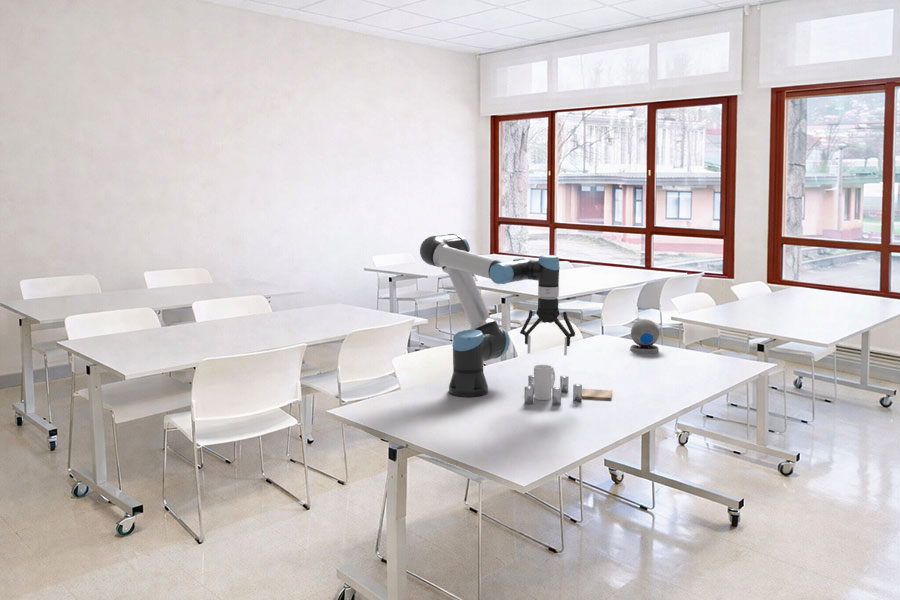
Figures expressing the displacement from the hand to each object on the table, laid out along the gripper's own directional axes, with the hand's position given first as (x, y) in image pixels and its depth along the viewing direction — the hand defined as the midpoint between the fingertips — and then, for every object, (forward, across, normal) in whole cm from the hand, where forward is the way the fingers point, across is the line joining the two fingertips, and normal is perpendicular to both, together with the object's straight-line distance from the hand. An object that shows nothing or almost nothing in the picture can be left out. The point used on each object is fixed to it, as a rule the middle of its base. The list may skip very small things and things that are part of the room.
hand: (547, 353), depth 279 cm
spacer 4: (+17, +6, +8) cm, 19 cm away
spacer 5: (+16, +12, -3) cm, 21 cm away
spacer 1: (+17, -6, +6) cm, 19 cm away
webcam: (+17, +38, +85) cm, 95 cm away
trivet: (+16, +18, +5) cm, 25 cm away
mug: (+17, 0, -1) cm, 17 cm away
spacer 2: (+17, -5, -10) cm, 20 cm away
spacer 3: (+16, +5, -9) cm, 19 cm away
